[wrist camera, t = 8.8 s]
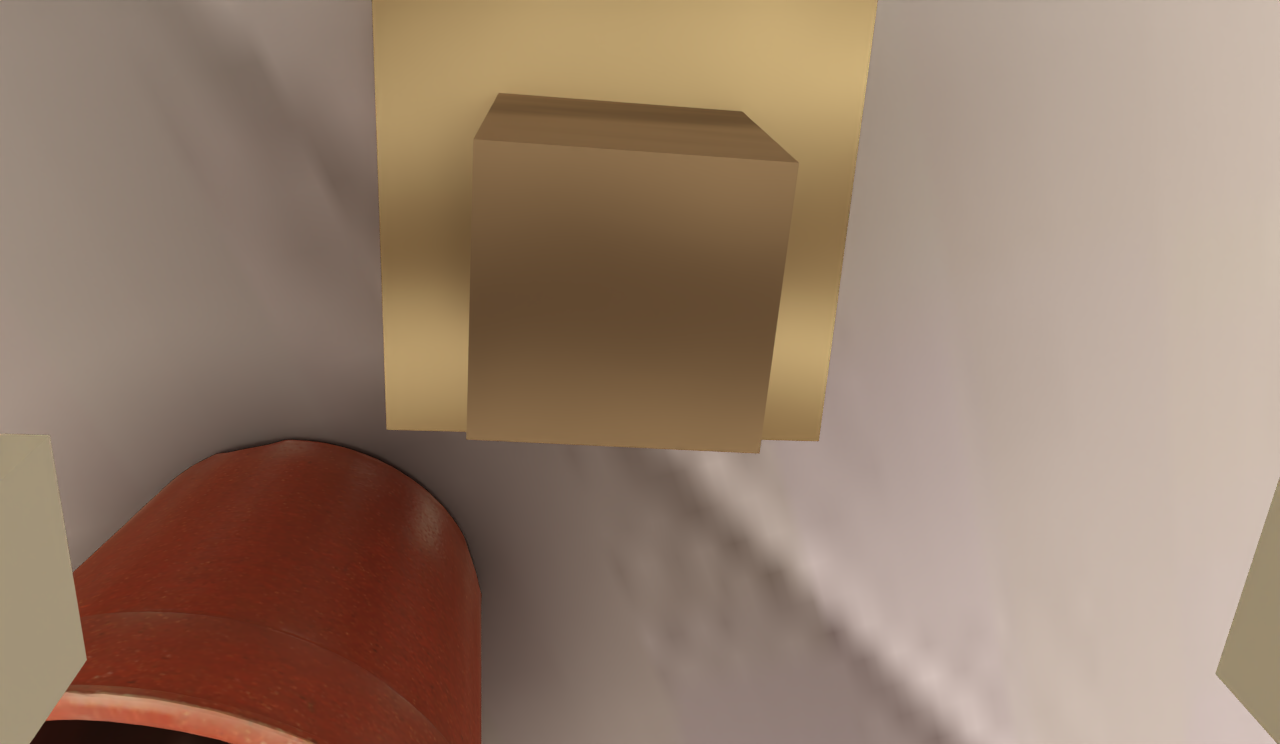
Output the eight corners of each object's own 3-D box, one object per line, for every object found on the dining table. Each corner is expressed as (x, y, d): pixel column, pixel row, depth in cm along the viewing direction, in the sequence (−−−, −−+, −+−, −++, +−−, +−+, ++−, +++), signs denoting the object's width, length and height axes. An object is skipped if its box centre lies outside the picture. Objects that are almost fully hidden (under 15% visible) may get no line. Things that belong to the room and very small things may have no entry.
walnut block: (498, 92, 25) (472, 139, 19) (742, 111, 26) (799, 163, 19) (491, 325, 27) (466, 439, 21) (716, 338, 28) (759, 453, 22)
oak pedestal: (408, -43, 30) (370, -43, 24) (823, -18, 30) (879, -12, 25) (416, 352, 34) (386, 429, 28) (779, 364, 35) (818, 441, 29)
